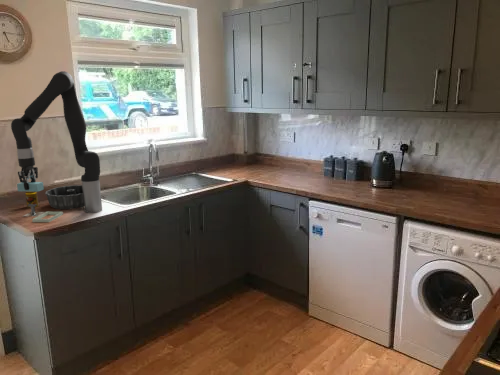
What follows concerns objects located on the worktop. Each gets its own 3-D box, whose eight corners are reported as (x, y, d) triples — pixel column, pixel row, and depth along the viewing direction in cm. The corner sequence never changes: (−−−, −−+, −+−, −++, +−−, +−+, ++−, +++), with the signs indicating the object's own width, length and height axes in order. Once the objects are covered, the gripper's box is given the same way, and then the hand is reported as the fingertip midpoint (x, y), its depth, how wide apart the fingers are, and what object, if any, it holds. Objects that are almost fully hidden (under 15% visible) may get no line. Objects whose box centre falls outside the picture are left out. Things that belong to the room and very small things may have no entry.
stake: (31, 213, 227) (29, 202, 225) (45, 213, 226) (43, 202, 225) (22, 218, 219) (20, 206, 218) (36, 218, 218) (35, 206, 217)
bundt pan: (93, 210, 231) (91, 193, 229) (42, 214, 226) (39, 196, 223) (99, 199, 256) (97, 183, 254) (53, 202, 251) (51, 186, 249)
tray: (47, 216, 222) (47, 211, 221) (63, 216, 221) (62, 211, 220) (32, 223, 208) (32, 219, 208) (49, 224, 208) (48, 219, 207)
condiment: (27, 210, 233) (24, 189, 231) (25, 207, 240) (22, 187, 238) (41, 208, 238) (39, 188, 235) (38, 205, 244) (36, 185, 242)
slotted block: (43, 189, 222) (43, 182, 221) (37, 191, 217) (37, 184, 216) (24, 189, 223) (23, 181, 222) (17, 191, 218) (16, 183, 217)
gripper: (24, 159, 209) (29, 191, 212) (40, 154, 222) (45, 185, 226) (10, 159, 209) (15, 191, 213) (27, 154, 223) (31, 185, 227)
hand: (30, 188), depth 220 cm, fingers closed on slotted block, 5 cm apart
